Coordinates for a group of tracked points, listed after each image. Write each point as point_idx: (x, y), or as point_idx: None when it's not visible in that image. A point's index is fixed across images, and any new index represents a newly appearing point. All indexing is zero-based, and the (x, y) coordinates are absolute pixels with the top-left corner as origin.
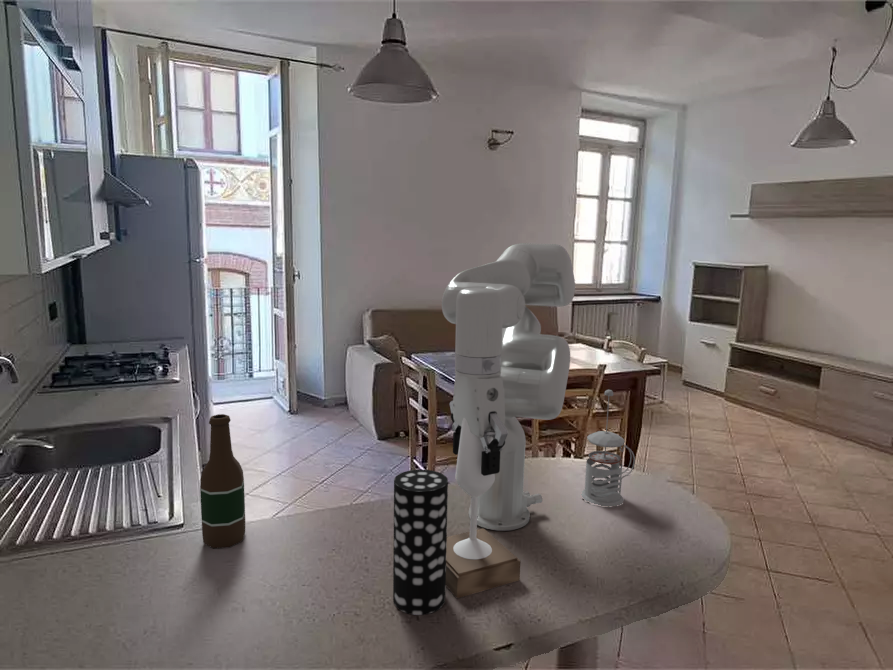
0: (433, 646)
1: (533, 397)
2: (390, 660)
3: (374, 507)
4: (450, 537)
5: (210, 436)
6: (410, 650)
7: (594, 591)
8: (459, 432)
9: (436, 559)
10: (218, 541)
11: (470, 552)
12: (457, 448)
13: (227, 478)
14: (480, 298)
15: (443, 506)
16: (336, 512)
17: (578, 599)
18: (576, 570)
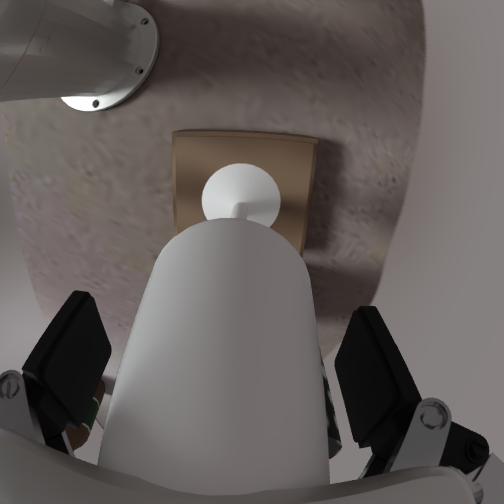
0: (349, 308)
1: None
2: (336, 343)
3: (30, 242)
4: (182, 217)
5: None
6: (338, 327)
7: (389, 63)
8: (66, 415)
9: None
10: (103, 392)
11: (262, 222)
12: (101, 363)
13: (81, 437)
14: None
15: (332, 403)
16: (40, 288)
17: (392, 98)
18: (333, 37)
